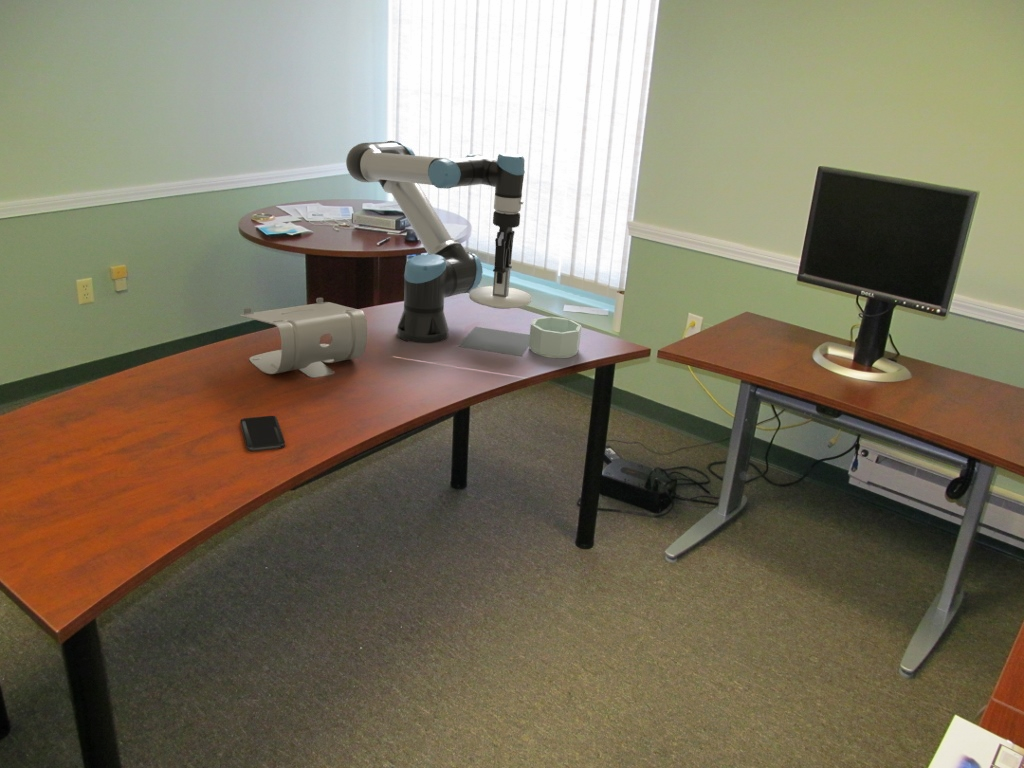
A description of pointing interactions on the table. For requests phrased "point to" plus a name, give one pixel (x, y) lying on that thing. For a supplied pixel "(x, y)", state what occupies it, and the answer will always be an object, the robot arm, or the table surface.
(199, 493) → the table surface
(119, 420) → the table surface
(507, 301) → the lid
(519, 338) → the mat
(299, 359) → the portable electronic device stand
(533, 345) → the bowl
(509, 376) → the table surface
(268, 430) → the phone
